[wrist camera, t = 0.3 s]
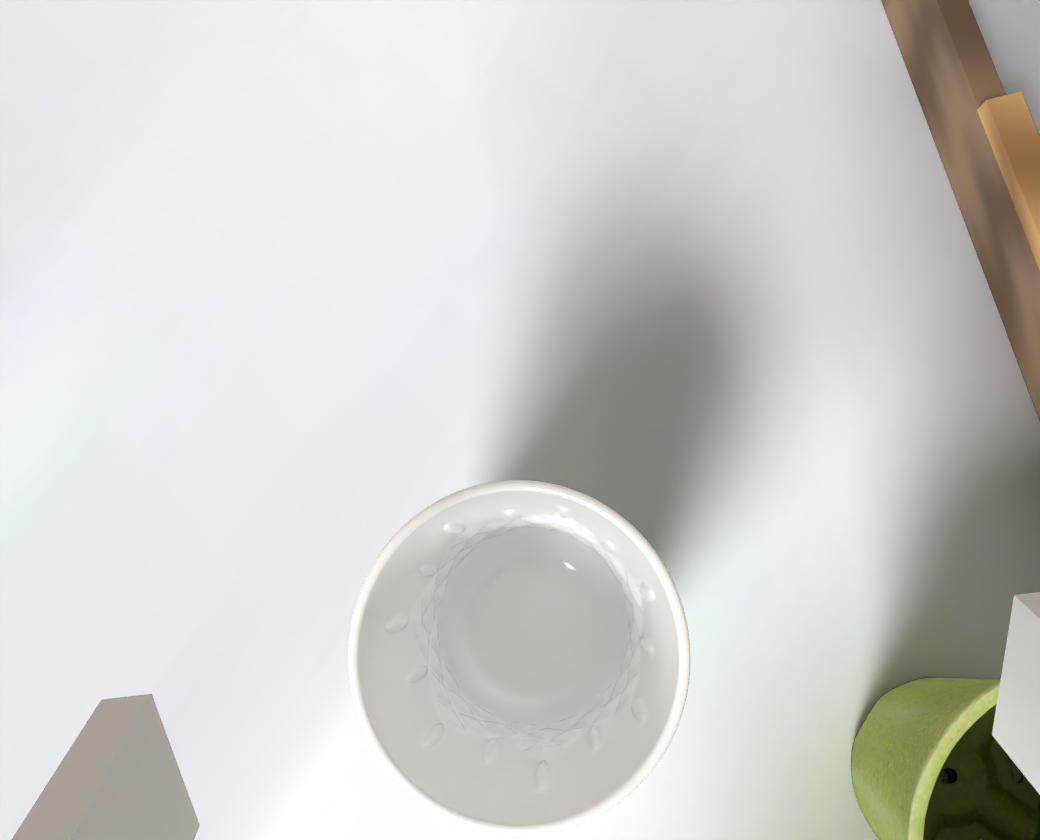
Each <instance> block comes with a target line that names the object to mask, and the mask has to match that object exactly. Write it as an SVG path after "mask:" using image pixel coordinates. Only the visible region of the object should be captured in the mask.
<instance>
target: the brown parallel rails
mask: <svg viewBox="0 0 1040 840" xmlns="http://www.w3.org/2000/svg"><path fill="white" fill-rule="evenodd" d="M881 1H882V3H883V6H884V9H885V11H886V14H887V17H888V19H889V22H890V25H891V27H892V30H893V32H894V35H895V38H896V40H897V43H898V46H899V48H900V51H901V54H902V56H903V59H904V62H905V64H906V67H907V70H908V72H909V75H910V78H911V80H912V83H913V85H914V88H915V91H916V93H917V96H918V99H919V101H920V104H921V107H922V109H923V112H924V115H925V117H926V120H927V123H928V125H929V128H930V131H931V133H932V136H933V138H934V141H935V144H936V146H937V149H938V152H939V154H940V157H941V160H942V162H943V165H944V168H945V170H946V173H947V176H948V178H949V181H950V184H951V186H952V189H953V191H954V194H955V197H956V199H957V202H958V205H959V207H960V210H961V213H962V215H963V218H964V221H965V223H966V226H967V229H968V231H969V234H970V237H971V239H972V242H973V244H974V247H975V250H976V252H977V255H978V258H979V260H980V263H981V266H982V268H983V271H984V274H985V276H986V279H987V282H988V284H989V287H990V290H991V292H992V295H993V297H994V300H995V303H996V305H997V308H998V311H999V313H1000V316H1001V319H1002V321H1003V324H1004V327H1005V329H1006V332H1007V335H1008V337H1009V340H1010V343H1011V345H1012V348H1013V350H1014V353H1015V356H1016V358H1017V361H1018V364H1019V366H1020V369H1021V372H1022V374H1023V377H1024V380H1025V382H1026V385H1027V388H1028V390H1029V393H1030V396H1031V398H1032V401H1033V403H1034V406H1035V409H1036V411H1037V414H1038V417H1039V419H1040V135H1039V133H1038V130H1037V128H1036V126H1035V123H1034V121H1033V118H1032V116H1031V113H1030V111H1029V108H1028V106H1027V103H1026V101H1025V98H1024V96H1023V94H1022V91H1019V92H1015V93H1012V94H1008V95H1006V94H1005V92H1004V89H1003V87H1002V84H1001V82H1000V79H999V77H998V74H997V72H996V69H995V67H994V64H993V62H992V59H991V57H990V54H989V52H988V49H987V47H986V44H985V42H984V39H983V37H982V34H981V32H980V29H979V27H978V24H977V22H976V19H975V17H974V14H973V12H972V9H971V7H970V4H969V2H968V0H881Z"/></svg>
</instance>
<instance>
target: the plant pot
mask: <svg viewBox="0 0 1040 840" xmlns="http://www.w3.org/2000/svg"><path fill="white" fill-rule="evenodd" d="M1000 680H1001V678H1000V679H967V678H934V677H931V678H923V679H918V680H914V681H910V682H908V683H905V684H903V685H900V686H898V687H896V688H894V689H892V690H890V691H889V692H887V693H886V694H884V695H883V696H882V697H881V698H880V699H879V700H878V701H877V702H876V704H875V705H874V707H873V709H872V710H871V712H870V713H869V715H868V717H867V718H866V720H865V721H864V723H863V725H862V727H861V728H860V730H859V732H858V734H857V736H856V738H855V741H854V744H853V749H852V756H851V772H852V782H853V788H854V792H855V795H856V799H857V801H858V804H859V806H860V809H861V811H862V813H863V815H864V817H865V819H866V820H867V822H868V824H869V825H870V827H871V828H872V830H873V831H874V833H875V834H876V835H877V837H878V838H879V840H980V839H982V840H1040V794H1039V793H1038V792H1037V791H1036V789H1035V788H1034V787H1033V786H1032V784H1031V783H1030V782H1029V781H1028V779H1027V778H1026V777H1025V776H1024V774H1023V780H1022V781H1021V783H1017V782H1016V781H1015V780H1014V778H1013V773H1012V766H1011V760H1010V757H1009V756H1008V754H1007V753H1006V752H1005V751H1004V749H1003V748H1002V747H1001V746H1000V744H999V743H998V742H997V741H996V739H995V738H994V737H993V736H992V730H993V724H994V718H995V712H996V705H997V699H998V693H999V687H1000ZM946 768H949V769H953V770H955V772H956V774H957V780H956V781H955V782H954V783H950V784H947V783H945V782H943V781H942V780H941V777H940V774H941V772H942V771H943V770H944V769H946Z"/></svg>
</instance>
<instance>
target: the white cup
mask: <svg viewBox="0 0 1040 840" xmlns="http://www.w3.org/2000/svg"><path fill="white" fill-rule="evenodd" d="M348 668H349V679H350V686H351V692H352V696H353V701H354V705H355V708H356V711H357V715H358V717H359V720H360V723H361V725H362V728H363V730H364V732H365V735H366V737H367V739H368V741H369V743H370V745H371V746H372V748H373V750H374V751H375V753H376V755H377V756H378V758H379V759H380V761H381V762H382V764H383V765H384V766H385V768H386V769H387V770H388V771H389V773H390V774H391V775H392V776H393V777H394V778H395V780H396V781H397V782H398V783H399V784H400V785H401V786H402V787H403V788H404V789H405V790H406V791H407V792H409V793H410V794H411V795H412V796H413V797H414V798H416V799H417V800H418V801H420V802H421V803H422V804H424V805H425V806H426V807H428V808H430V809H431V810H433V811H434V812H436V813H438V814H440V815H441V816H443V817H445V818H447V819H449V820H451V821H454V822H456V823H458V824H461V825H464V826H466V827H469V828H473V829H476V830H480V831H484V832H489V833H494V834H502V835H517V836H524V835H539V834H546V833H552V832H557V831H561V830H565V829H568V828H571V827H574V826H577V825H580V824H582V823H585V822H587V821H589V820H591V819H593V818H595V817H597V816H599V815H601V814H603V813H605V812H606V811H608V810H609V809H611V808H613V807H614V806H615V805H617V804H618V803H620V802H621V801H622V800H623V799H625V798H626V797H627V796H628V795H630V794H631V793H632V792H633V791H634V790H635V789H636V788H637V787H638V786H639V785H640V784H641V783H642V782H643V781H644V780H645V779H646V777H647V776H648V775H649V774H650V773H651V771H652V770H653V769H654V768H655V766H656V765H657V763H658V762H659V761H660V759H661V757H662V756H663V754H664V753H665V751H666V749H667V748H668V746H669V744H670V742H671V740H672V738H673V736H674V734H675V731H676V729H677V726H678V724H679V721H680V718H681V715H682V712H683V709H684V705H685V701H686V696H687V691H688V685H689V676H690V642H689V633H688V627H687V622H686V617H685V613H684V609H683V606H682V603H681V600H680V597H679V594H678V592H677V589H676V587H675V584H674V582H673V580H672V578H671V576H670V574H669V572H668V570H667V568H666V567H665V565H664V563H663V562H662V560H661V559H660V557H659V556H658V554H657V553H656V551H655V550H654V549H653V547H652V546H651V545H650V543H649V542H648V541H647V540H646V539H645V538H644V536H643V535H642V534H641V533H640V532H639V531H638V530H637V529H636V528H635V527H634V526H633V525H632V524H630V523H629V522H628V521H627V520H626V519H625V518H623V517H622V516H621V515H620V514H618V513H617V512H615V511H614V510H613V509H611V508H610V507H608V506H607V505H605V504H603V503H601V502H600V501H598V500H596V499H594V498H592V497H590V496H588V495H586V494H584V493H581V492H579V491H576V490H573V489H570V488H567V487H564V486H560V485H556V484H552V483H547V482H541V481H532V480H504V481H495V482H489V483H484V484H479V485H475V486H472V487H469V488H466V489H463V490H460V491H457V492H455V493H453V494H450V495H448V496H446V497H444V498H442V499H440V500H438V501H436V502H435V503H433V504H431V505H430V506H428V507H427V508H425V509H424V510H422V511H421V512H420V513H418V514H417V515H416V516H414V517H413V518H412V519H411V520H409V521H408V522H407V523H406V524H405V525H404V526H403V527H402V528H401V529H400V530H399V531H398V532H397V533H396V534H395V535H394V536H393V537H392V538H391V540H390V541H389V542H388V543H387V545H386V546H385V547H384V548H383V550H382V551H381V553H380V554H379V556H378V557H377V559H376V560H375V562H374V563H373V565H372V567H371V569H370V571H369V572H368V574H367V576H366V578H365V581H364V583H363V585H362V588H361V590H360V593H359V596H358V599H357V602H356V605H355V609H354V612H353V617H352V622H351V627H350V634H349V645H348Z"/></svg>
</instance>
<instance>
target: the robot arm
mask: <svg viewBox="0 0 1040 840" xmlns="http://www.w3.org/2000/svg"><path fill="white" fill-rule="evenodd" d="M992 736H993V737H994V738H995V739H996V741H997V742H998V743H999V744H1000V746H1001V747H1002V748H1003V749H1004V751H1005V752H1006V753H1007V754H1008V756H1009V757H1010V758H1011V759H1012V761H1013V762H1014V763H1015V764H1016V766H1017V767H1018V768H1019V769H1020V771H1021V772H1022V773H1023V774H1024V776H1025V777H1026V778H1027V779H1028V781H1029V782H1030V783H1031V784H1032V786H1033V787H1034V788H1035V789H1036V791H1037V792H1038V793H1039V794H1040V592H1035V593H1027V594H1018V595H1014V599H1013V605H1012V611H1011V618H1010V624H1009V630H1008V636H1007V643H1006V649H1005V655H1004V661H1003V668H1002V674H1001V680H1000V687H999V693H998V699H997V705H996V712H995V718H994V724H993V730H992ZM198 828H199V822H198V820H197V817H196V814H195V811H194V809H193V806H192V803H191V800H190V798H189V795H188V792H187V789H186V787H185V784H184V781H183V779H182V776H181V773H180V770H179V768H178V765H177V762H176V759H175V757H174V754H173V751H172V748H171V746H170V743H169V740H168V738H167V735H166V732H165V729H164V727H163V724H162V721H161V718H160V716H159V713H158V710H157V707H156V705H155V702H154V699H153V697H152V694H147V695H138V696H130V697H121V698H112V699H104V700H101V701H100V703H99V704H98V706H97V707H96V709H95V711H94V712H93V714H92V715H91V717H90V718H89V720H88V721H87V723H86V725H85V726H84V728H83V729H82V731H81V732H80V734H79V736H78V737H77V739H76V740H75V742H74V743H73V745H72V746H71V748H70V750H69V751H68V753H67V754H66V756H65V757H64V759H63V760H62V762H61V764H60V765H59V767H58V768H57V770H56V771H55V773H54V774H53V776H52V778H51V779H50V781H49V782H48V784H47V785H46V787H45V789H44V790H43V792H42V793H41V795H40V796H39V798H38V799H37V801H36V803H35V804H34V806H33V807H32V809H31V810H30V812H29V813H28V815H27V817H26V818H25V820H24V821H23V823H22V824H21V826H20V827H19V829H18V831H17V832H16V834H15V835H14V837H13V838H12V840H194V838H195V836H196V833H197V831H198Z"/></svg>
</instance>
